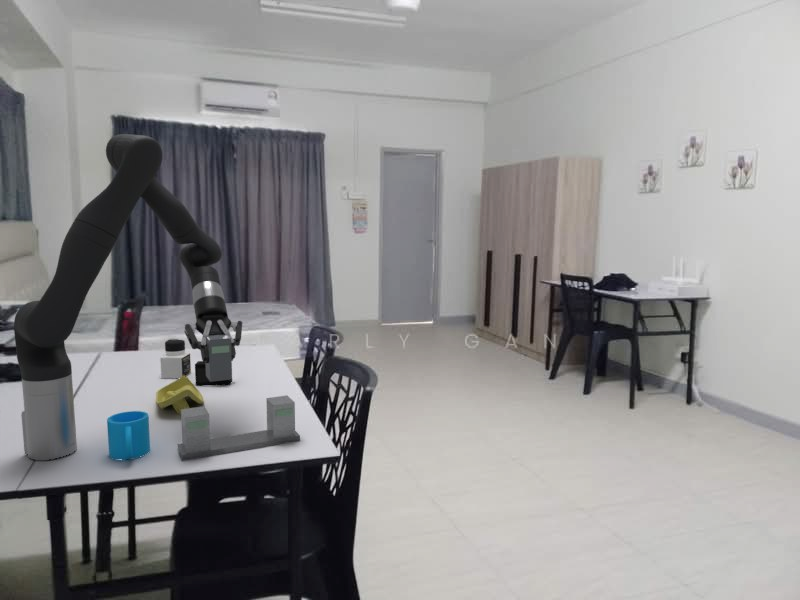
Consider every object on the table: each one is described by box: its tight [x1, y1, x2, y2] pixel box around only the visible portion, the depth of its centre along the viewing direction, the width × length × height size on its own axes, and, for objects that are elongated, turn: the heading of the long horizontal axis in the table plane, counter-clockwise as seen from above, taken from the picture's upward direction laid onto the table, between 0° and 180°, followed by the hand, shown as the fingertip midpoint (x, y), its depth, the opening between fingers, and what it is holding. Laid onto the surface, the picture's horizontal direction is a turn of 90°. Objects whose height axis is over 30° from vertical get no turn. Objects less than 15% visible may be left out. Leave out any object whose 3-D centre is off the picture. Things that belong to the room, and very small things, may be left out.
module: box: [206, 334, 233, 382], centre depth 139 cm, size 5×6×10 cm
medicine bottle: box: [159, 338, 192, 379], centre depth 190 cm, size 7×7×12 cm
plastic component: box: [155, 376, 205, 415], centre depth 159 cm, size 20×7×10 cm
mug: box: [106, 410, 151, 461], centre depth 125 cm, size 12×8×8 cm
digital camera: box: [194, 360, 233, 387], centre depth 181 cm, size 10×5×7 cm, turn 95°
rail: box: [177, 395, 301, 461], centre depth 132 cm, size 26×7×9 cm, turn 117°
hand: (219, 359), depth 138 cm, fingers closed on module, 5 cm apart
